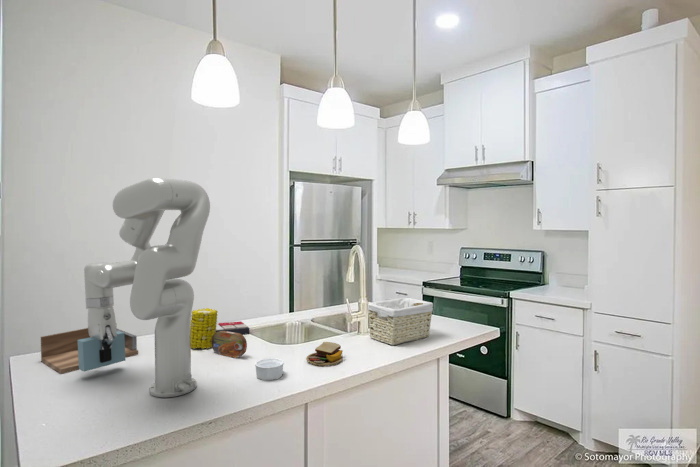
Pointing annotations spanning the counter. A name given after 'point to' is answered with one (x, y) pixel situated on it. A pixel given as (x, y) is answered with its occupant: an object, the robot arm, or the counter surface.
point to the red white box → (233, 327)
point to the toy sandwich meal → (326, 354)
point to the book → (91, 355)
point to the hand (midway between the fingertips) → (102, 359)
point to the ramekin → (269, 368)
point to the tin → (229, 344)
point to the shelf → (73, 349)
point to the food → (203, 327)
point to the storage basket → (399, 320)
